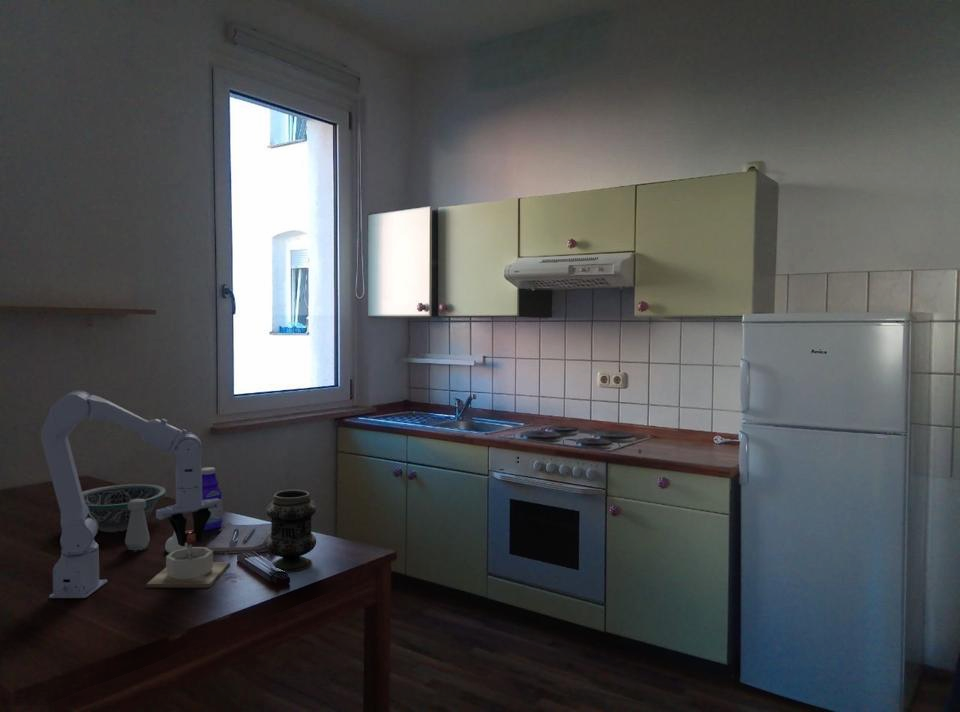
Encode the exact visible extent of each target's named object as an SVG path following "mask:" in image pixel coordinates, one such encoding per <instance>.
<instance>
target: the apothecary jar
mask: <svg viewBox="0 0 960 712" xmlns="http://www.w3.org/2000/svg"><path fill="white" fill-rule="evenodd" d="M316 512H317V506H316V503H315V502H314V501H313V500H311V497H310V492H309V491H306V490H301V489H286V490H285V489H284V490H280V491H277V492H275V493H274V494H273V500H272V501H271V502H270V503H269V504H268V505H267V508H266V515H267V516H268V517H269V518H270V519H271V531H270V535H269V536H268V537H267V538H266V541H265V548H266V551H267V552H268V553H270V554H271V555H273V556H276V557H280V558H279V559H277V560H274V561H273V562H272V563H271V564H273V565H274V566H275V567H276V568H279V569H281V570H283V571H285V572H284V573H295V572H300V571H304V570H306V569H309V568H310V567H311V566H312V565H313V561H312V560H311V559H310V558H308V557H305V556H304V555H307V554H308V553H310V552H312V551H313V550H314V548H315V547H316V545H317V538H316V536H315V534H313V533H312V517H313V516H314V514H316Z"/></svg>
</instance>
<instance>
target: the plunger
mask: <svg viewBox="0 0 960 712" xmlns="http://www.w3.org/2000/svg"><path fill="white" fill-rule="evenodd" d="M196 541H197V531H195V530H194V529H190V530H185V543H187V555H188V557H187V558H183V559H194V558H198V557H192V547H193V543H195V542H196Z"/></svg>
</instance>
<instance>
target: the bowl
mask: <svg viewBox="0 0 960 712" xmlns="http://www.w3.org/2000/svg"><path fill="white" fill-rule="evenodd" d="M82 493H83V497H84V500H85V503H86V505H87V506H88V508H89V511H90V514H91V516H92V517H93V518H94V519H95V520H96V521H97V523H98V529H99V530H100V531H99V530H98V531H99V532H102V531H103V532H102V533H118V532H117V531H121V532H125V531H124V530H127V528H128V523H129V518H130V513H131V510H129V509H128V502H129V501H130V500H133V499H144V500H145V501H146V507H145V508H144V513H145V518H146V519H147V518H148V517H149V516H150V515H151V514H152V513H153V510H154V509H155V506H156V505H157V502H158V501H159V499H161V498H162V497H165V495H166V494H167V489H165V487H162V486H161V485H156V484H146V483H143V484H142V483H130V484H129V483H127V484H116V485H107V486H100V487H95V488H91V489H90V488H89V489H87V490H82Z"/></svg>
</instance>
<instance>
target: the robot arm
mask: <svg viewBox="0 0 960 712" xmlns="http://www.w3.org/2000/svg"><path fill="white" fill-rule="evenodd" d="M87 416H89V418H88V421H96V420H107V421H109V422H111V423H114V424H117V425H119V426H121V427H124V428H127V429H128V430H131V431H133V432H136V433H139V434H140V436H141V440H142V441H143V442H145V443H147V444H149V445H150V446H151V445H152V446H153V447H156V448H157V449H160V450H162V451H164V452H167V453H168V454H170V453H171V454H172V453H174V456H175V459H176V466H175V468H174V470H175V504H173V505H168V506H165V507H162V508H158V509H156V510H155V518H156V519H158V520H160V521H161V520H165V519H166V518H167V520H168V521H169V524H170V525H171V526H172V528H173V532H174V531H175V533H176V536H177V540H178V545H180V546H185V531H186V525H187V518H186V517H185V516H184V515H186V514H190V513H192V522H193V530H195V531H197V541H195V542H197V543H201V542H202V537H203V533H204V528H205V525H206V523H207V521H208V519H209V518H210V516H211V512H210V511H208V509H211V508H220V507H221V500H220V499H218V498H215V499H208V500H202V468H203V467H202V464H201V463H202V457H201V456H202V454H203V447H202V442H201V439H200V438H199V437H198V435H197V434H196V435H195V434H194V433H193V432H188V430H187V429H185V428H183V429H180V428H177V427H175V426H174V425H171V424H170V423H168V420H167V419H166V418H162V419H158V418H154V419H153V418H152V419H150V420H147V419H145V418H143V417H141V416H139V415H137V414H136V413H134V412H132V411H129V410H127V409H126V408H124V407H122V406H120V405H117V404H115V403H114V402H111V401H110V400H108V399H105V398H103V397H100V396H98V395H94V394H91V395H90V394H89V392H86V391H84V390H77V389H76V390H72V391H70V392H68V393H67V394H66V395H63V396H62V397H59V399H58V400H57V401H56V402H55V403H54V404H53V405H52V406H51V407H50V409H49V413H48V415H47V418H46V419H45V421H44V425H43V426H42V428H41V431H40V440H41V444H42V447H43V452H44V454H45V459H46V462H47V463H46V464H47V467H48V470H49V473H50V474H49V475H50V478H51V482H52V485H53V489H54V492H55V496H56V501H57V503H58V507H59V510H60V511H59V512H60V526H61V535H60V538H59V539H60V540H59V542H60V543H59V544H60V546H61V549H60V551H61V554H60V558H59V560H57V562H56V563H55V564H54V566H53V567H52V593H51V594H49V596H48V598H49V599H86V598H87V597H90V595H92V594H93V593H95V592H96V591H97V590H98V589H100V588H101V587H102V586H104V585H105V584H106V583H108V579H100V554H99V553H100V551H99V548H100V547H99V544H98V543H97V542H96V541H95V537H96V535H97V534H98V531H99V530H98V523H97V521H96V520H95V519H94V518H93V517H92V516H91V514H90V511H89V508H88V506H87V505H86V503H85V500H84V497H83V493H82V492H83V490H82V486H81V481H80V478H79V475H78V471H77V466H76V464H75V463H76V462H75V459H74V455H73V452H72V451H73V450H72V448H71V444H70V440H69V435H70V434H71V432H72V431H73V430H74V429H75V427H76V426H77V425H78V424H79V423H80V422H82V421H83V420H84V419H85V418H86V417H87Z"/></svg>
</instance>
